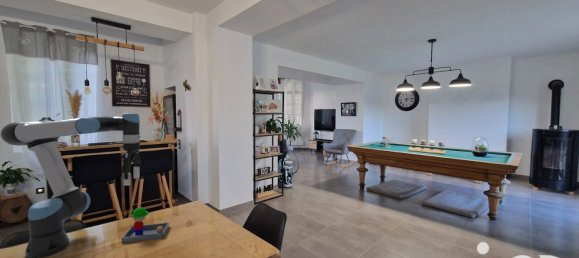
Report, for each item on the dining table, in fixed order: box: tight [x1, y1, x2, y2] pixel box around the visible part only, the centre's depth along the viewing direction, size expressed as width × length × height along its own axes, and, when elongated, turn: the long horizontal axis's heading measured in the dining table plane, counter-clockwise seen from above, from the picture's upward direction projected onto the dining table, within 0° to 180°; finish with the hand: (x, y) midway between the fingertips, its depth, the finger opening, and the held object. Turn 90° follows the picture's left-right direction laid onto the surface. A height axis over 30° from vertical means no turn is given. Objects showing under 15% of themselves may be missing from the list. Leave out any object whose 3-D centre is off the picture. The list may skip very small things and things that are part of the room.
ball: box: [156, 226, 164, 233], centre depth 133 cm, size 4×4×4 cm
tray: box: [121, 222, 170, 244], centre depth 131 cm, size 19×13×3 cm
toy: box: [130, 206, 149, 236], centre depth 130 cm, size 8×8×15 cm
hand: (132, 181), depth 129 cm, fingers open, 13 cm apart
